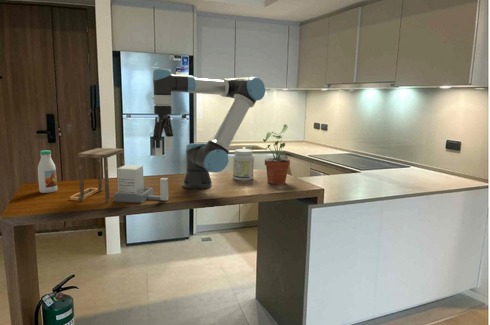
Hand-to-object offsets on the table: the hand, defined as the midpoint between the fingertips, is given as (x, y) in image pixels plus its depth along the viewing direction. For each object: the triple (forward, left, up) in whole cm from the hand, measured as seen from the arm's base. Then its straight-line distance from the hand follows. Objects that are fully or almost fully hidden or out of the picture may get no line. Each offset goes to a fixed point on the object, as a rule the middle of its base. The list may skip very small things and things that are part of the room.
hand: (163, 152), depth 160 cm
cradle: (+10, +1, -22) cm, 24 cm away
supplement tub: (-31, -49, -22) cm, 62 cm away
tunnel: (+29, +1, -22) cm, 37 cm away
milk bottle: (+59, -2, -22) cm, 63 cm away
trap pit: (+39, +1, -22) cm, 44 cm away
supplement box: (+16, +1, -22) cm, 27 cm away
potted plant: (-50, -43, -22) cm, 70 cm away
